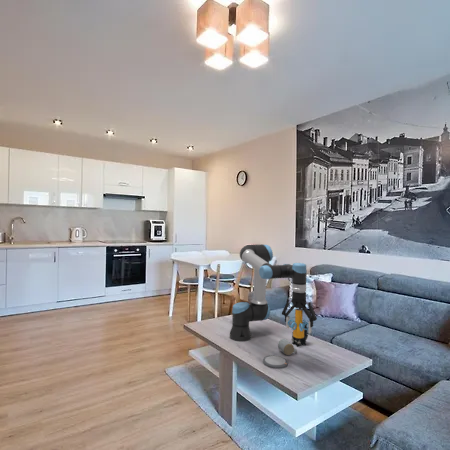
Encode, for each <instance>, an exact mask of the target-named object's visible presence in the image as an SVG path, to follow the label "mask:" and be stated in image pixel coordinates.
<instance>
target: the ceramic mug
mask: <svg viewBox="0 0 450 450" xmlns="http://www.w3.org/2000/svg"><path fill="white" fill-rule="evenodd" d="M294 346H295V345H293V344H292V342H291V341H289V340H288V339H286V338H281V339H280V340H279V341H278V343H277V347H278V350H280V351H281V352H282V354H284V355H285V356H291V355H292V354H297V351H298V350H297V349H296V348H295V347H294Z"/></svg>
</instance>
